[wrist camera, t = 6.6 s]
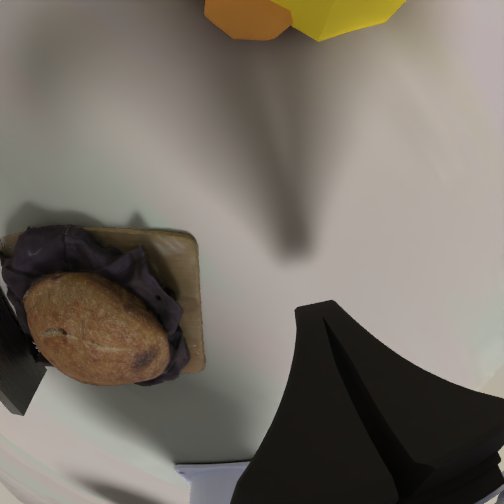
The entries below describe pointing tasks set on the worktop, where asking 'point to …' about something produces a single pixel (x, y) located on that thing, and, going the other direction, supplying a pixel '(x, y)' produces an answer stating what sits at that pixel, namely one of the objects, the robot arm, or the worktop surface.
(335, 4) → the yellow banana
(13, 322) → the grey angular piece
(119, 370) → the bread roll
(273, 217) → the worktop surface
